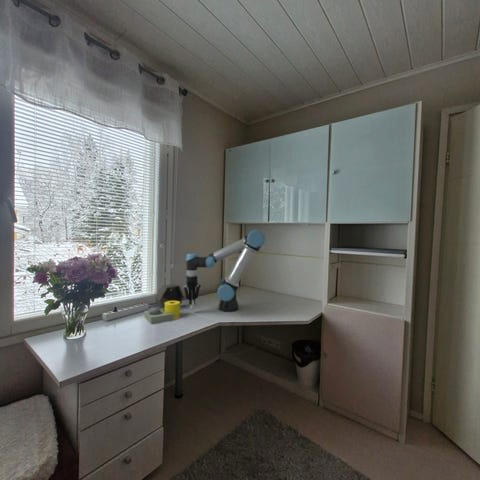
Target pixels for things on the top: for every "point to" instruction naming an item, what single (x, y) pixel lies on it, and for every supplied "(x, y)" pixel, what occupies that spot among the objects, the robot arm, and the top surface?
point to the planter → (168, 295)
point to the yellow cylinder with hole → (173, 308)
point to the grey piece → (158, 315)
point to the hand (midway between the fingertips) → (192, 308)
